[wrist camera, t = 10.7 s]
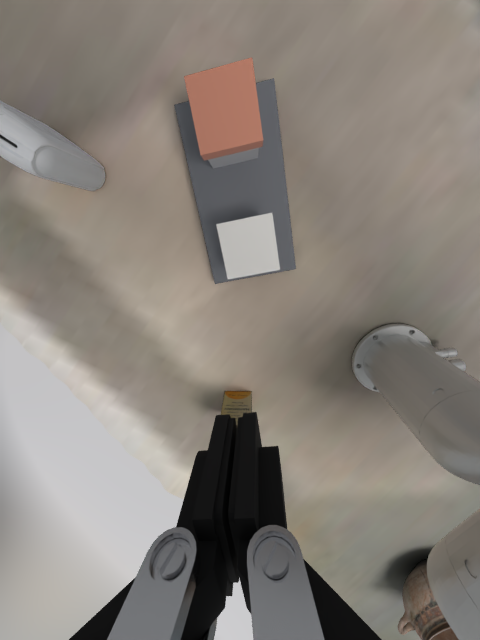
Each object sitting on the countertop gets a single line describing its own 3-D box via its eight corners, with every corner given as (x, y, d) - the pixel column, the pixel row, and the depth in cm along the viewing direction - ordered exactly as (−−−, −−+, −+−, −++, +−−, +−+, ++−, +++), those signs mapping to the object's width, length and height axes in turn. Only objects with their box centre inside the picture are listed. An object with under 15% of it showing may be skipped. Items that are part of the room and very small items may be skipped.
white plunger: (268, 215, 33) (272, 212, 27) (275, 263, 35) (280, 269, 29) (222, 225, 33) (216, 224, 28) (231, 272, 36) (227, 279, 30)
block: (272, 87, 30) (277, 54, 24) (293, 267, 37) (301, 273, 32) (178, 112, 31) (162, 86, 26) (216, 281, 38) (210, 289, 33)
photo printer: (30, 150, 33) (-88, 106, 22) (40, 118, 32) (-79, 53, 21) (99, 197, 35) (24, 180, 23) (111, 168, 34) (38, 135, 22)
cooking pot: (393, 599, 65) (424, 677, 54) (365, 560, 60) (392, 637, 49) (494, 574, 60) (552, 655, 48) (473, 529, 55) (532, 608, 43)
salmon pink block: (251, 93, 28) (252, 57, 22) (261, 157, 30) (263, 140, 24) (197, 107, 28) (184, 76, 23) (210, 169, 30) (200, 155, 25)
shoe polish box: (225, 413, 47) (217, 470, 36) (224, 391, 45) (215, 444, 34) (251, 413, 47) (251, 471, 35) (251, 391, 45) (251, 444, 34)
